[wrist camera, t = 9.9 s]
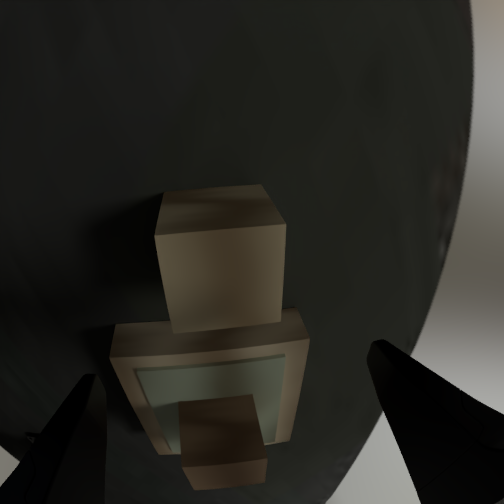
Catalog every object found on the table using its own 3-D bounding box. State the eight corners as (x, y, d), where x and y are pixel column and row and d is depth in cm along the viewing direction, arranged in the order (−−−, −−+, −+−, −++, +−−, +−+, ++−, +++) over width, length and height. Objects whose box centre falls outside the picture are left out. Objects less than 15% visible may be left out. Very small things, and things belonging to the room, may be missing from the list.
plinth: (158, 428, 26) (159, 457, 24) (115, 323, 19) (108, 361, 17) (282, 415, 28) (290, 443, 25) (296, 307, 21) (311, 342, 18)
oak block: (175, 273, 18) (173, 333, 14) (164, 191, 16) (154, 235, 12) (260, 265, 19) (280, 321, 15) (260, 183, 17) (285, 224, 12)
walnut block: (189, 434, 22) (194, 490, 18) (178, 401, 19) (181, 467, 15) (252, 427, 23) (264, 482, 18) (252, 394, 20) (267, 458, 16)
